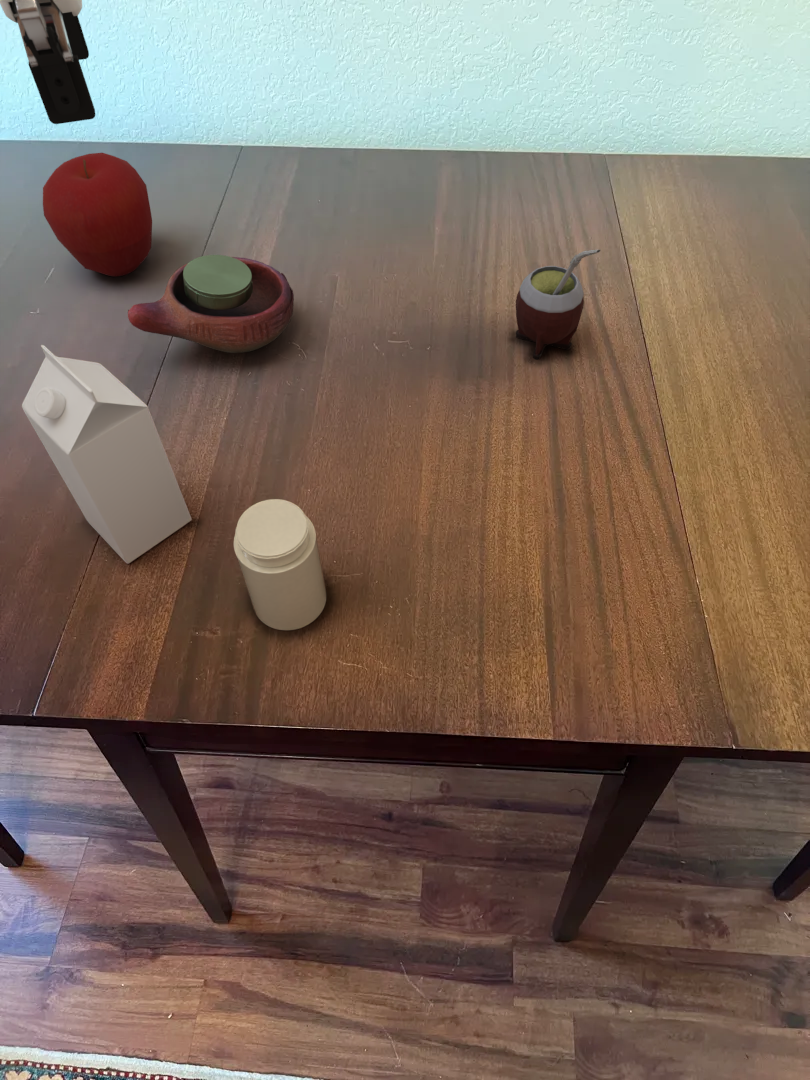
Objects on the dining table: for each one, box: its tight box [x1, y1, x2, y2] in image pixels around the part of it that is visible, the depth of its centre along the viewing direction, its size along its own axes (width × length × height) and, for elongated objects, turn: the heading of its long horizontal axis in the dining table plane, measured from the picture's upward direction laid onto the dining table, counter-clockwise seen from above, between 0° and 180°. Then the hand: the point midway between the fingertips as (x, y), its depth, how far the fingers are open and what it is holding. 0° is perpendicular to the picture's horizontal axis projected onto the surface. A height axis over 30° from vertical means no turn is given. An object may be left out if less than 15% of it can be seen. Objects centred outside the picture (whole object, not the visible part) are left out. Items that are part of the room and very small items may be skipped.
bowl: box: [127, 256, 295, 354], centre depth 84 cm, size 16×13×8 cm
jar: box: [233, 498, 327, 631], centre depth 64 cm, size 6×6×11 cm
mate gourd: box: [515, 249, 602, 360], centre depth 81 cm, size 8×8×15 cm
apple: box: [42, 152, 153, 277], centre depth 90 cm, size 12×12×13 cm
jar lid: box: [183, 254, 253, 310], centre depth 81 cm, size 7×7×2 cm
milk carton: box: [21, 344, 193, 565], centre depth 65 cm, size 7×7×19 cm
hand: (71, 88), depth 59 cm, fingers open, 9 cm apart
